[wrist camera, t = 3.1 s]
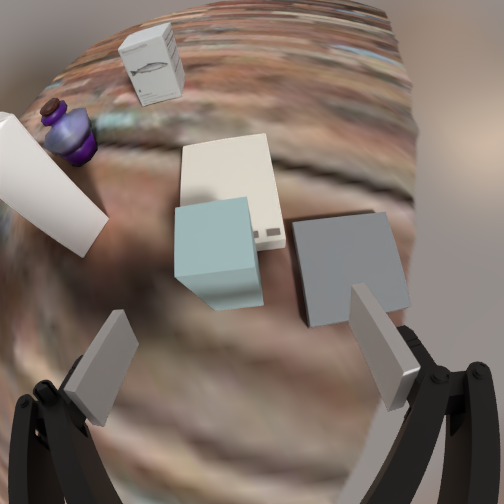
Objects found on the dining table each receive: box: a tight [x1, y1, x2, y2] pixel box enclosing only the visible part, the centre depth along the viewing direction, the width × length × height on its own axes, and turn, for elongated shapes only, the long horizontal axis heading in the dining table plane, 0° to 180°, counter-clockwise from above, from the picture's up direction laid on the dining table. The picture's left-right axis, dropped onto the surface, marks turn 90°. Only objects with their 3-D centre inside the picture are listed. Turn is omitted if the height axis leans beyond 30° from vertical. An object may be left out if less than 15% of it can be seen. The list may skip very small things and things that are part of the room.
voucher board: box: [180, 133, 286, 251], centre depth 28 cm, size 14×10×2 cm
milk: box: [0, 112, 109, 258], centre depth 20 cm, size 6×6×22 cm
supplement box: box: [118, 22, 185, 106], centre depth 33 cm, size 7×7×13 cm
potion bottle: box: [40, 98, 98, 167], centre depth 30 cm, size 9×9×12 cm
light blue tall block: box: [174, 196, 264, 311], centre depth 21 cm, size 5×4×11 cm
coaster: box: [292, 212, 411, 329], centre depth 24 cm, size 10×10×2 cm
